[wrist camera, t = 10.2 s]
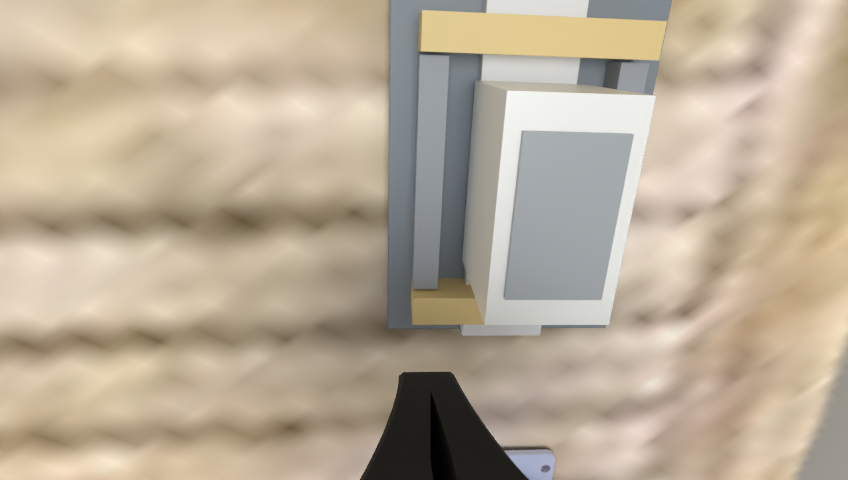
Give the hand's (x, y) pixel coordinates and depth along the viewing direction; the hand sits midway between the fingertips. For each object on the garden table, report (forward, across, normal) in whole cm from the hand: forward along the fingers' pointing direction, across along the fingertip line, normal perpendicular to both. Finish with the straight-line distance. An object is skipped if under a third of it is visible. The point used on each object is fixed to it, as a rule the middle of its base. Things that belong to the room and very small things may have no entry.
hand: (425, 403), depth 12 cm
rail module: (+8, -4, -4) cm, 10 cm away
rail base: (+9, -4, -4) cm, 11 cm away
